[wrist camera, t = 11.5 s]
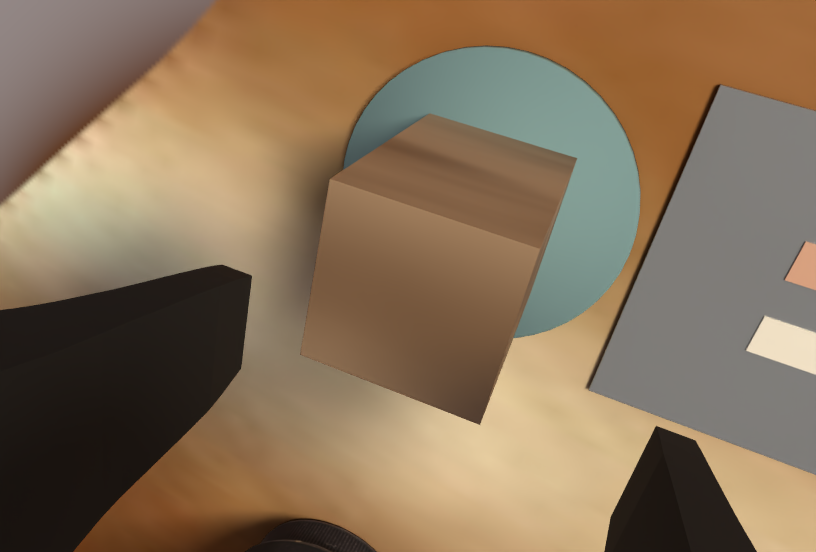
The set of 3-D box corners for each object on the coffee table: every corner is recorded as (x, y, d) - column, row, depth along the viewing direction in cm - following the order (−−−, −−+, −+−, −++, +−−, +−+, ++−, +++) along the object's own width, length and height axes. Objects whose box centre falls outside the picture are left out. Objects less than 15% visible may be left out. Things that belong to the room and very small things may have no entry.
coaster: (579, 369, 22) (577, 378, 22) (328, 277, 24) (322, 283, 23) (692, 97, 18) (693, 101, 17) (378, 9, 20) (371, 10, 19)
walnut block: (530, 292, 21) (480, 425, 15) (398, 246, 22) (299, 354, 16) (577, 158, 19) (540, 249, 13) (429, 113, 20) (329, 179, 14)
